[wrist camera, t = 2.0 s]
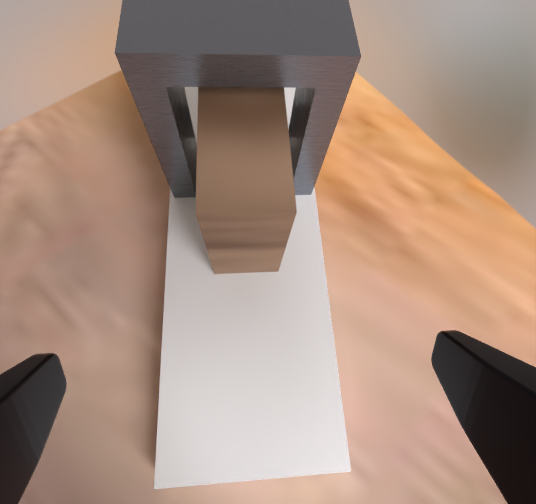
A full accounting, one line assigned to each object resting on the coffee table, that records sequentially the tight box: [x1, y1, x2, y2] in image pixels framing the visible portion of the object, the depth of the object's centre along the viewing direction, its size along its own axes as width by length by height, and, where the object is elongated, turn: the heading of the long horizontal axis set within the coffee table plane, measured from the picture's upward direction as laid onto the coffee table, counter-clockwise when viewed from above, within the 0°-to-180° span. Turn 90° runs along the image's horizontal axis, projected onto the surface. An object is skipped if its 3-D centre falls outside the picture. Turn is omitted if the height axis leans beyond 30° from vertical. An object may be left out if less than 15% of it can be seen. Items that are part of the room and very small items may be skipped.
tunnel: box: [115, 0, 361, 198], centre depth 18 cm, size 4×9×10 cm, turn 93°
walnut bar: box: [196, 87, 297, 274], centre depth 18 cm, size 10×4×8 cm, turn 3°
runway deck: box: [154, 87, 351, 489], centre depth 22 cm, size 28×10×2 cm, turn 3°
